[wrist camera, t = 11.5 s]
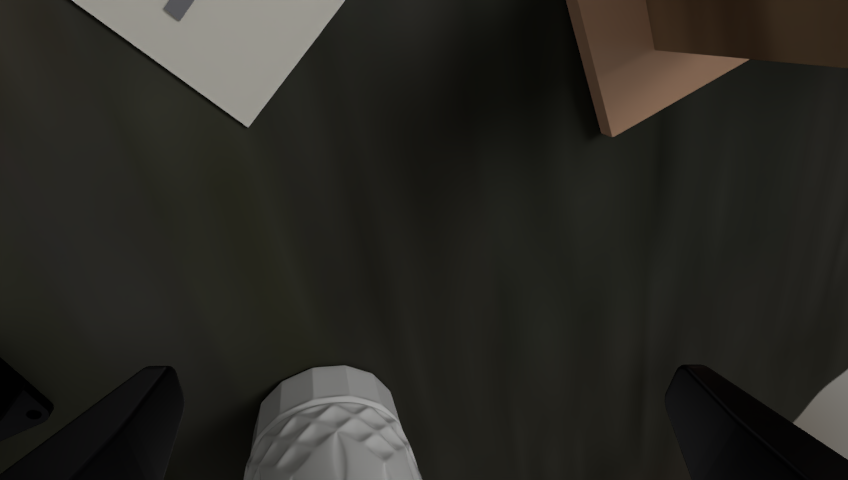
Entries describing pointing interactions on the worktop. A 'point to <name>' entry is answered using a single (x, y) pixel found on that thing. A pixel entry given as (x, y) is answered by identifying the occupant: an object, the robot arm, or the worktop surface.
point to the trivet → (634, 63)
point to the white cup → (330, 430)
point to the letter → (221, 42)
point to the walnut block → (754, 29)
